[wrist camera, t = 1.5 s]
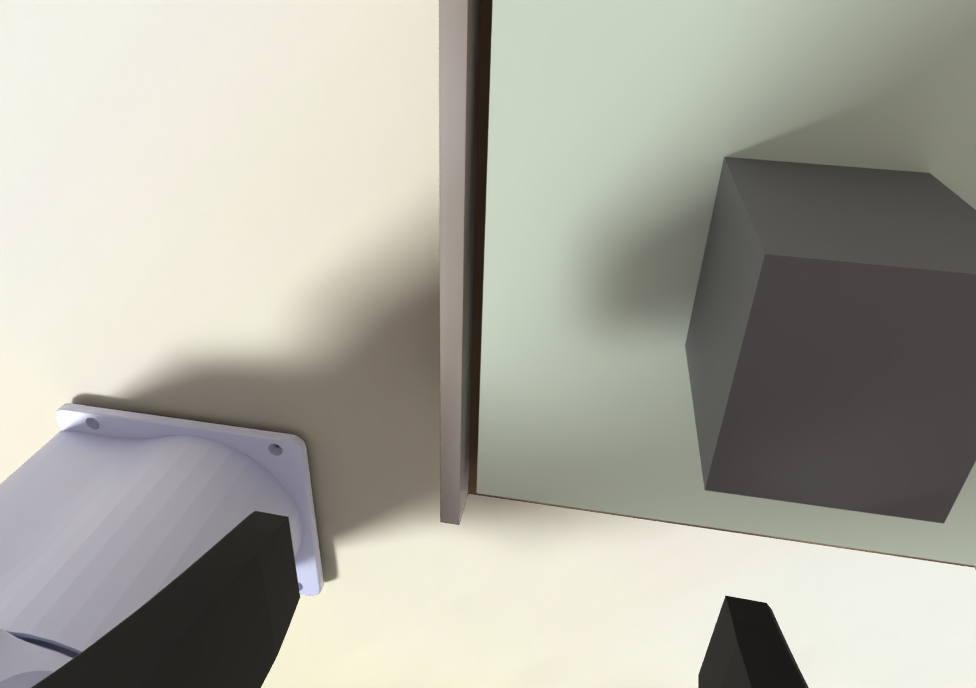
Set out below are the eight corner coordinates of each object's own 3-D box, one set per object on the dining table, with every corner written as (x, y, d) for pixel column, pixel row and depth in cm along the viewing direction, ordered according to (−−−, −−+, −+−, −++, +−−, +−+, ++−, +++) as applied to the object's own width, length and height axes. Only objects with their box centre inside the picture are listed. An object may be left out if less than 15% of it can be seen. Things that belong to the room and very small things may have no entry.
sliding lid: (483, 467, 19) (435, 645, 14) (508, -183, 12) (427, -259, 7) (973, 536, 17) (1102, 763, 12) (1355, -168, 10) (1997, -254, 5)
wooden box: (476, 407, 23) (440, 521, 18) (495, -217, 15) (437, -281, 10) (936, 466, 21) (1018, 609, 17) (1255, -209, 13) (1587, -282, 8)
